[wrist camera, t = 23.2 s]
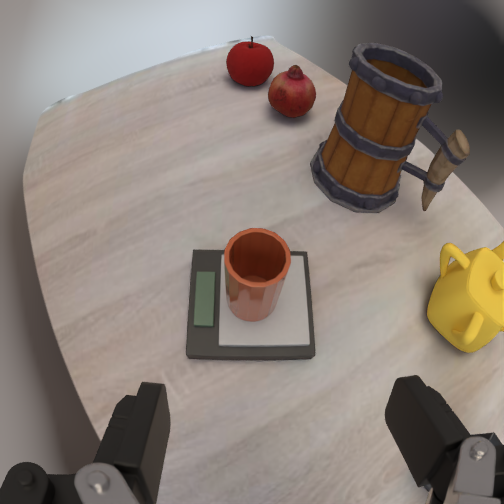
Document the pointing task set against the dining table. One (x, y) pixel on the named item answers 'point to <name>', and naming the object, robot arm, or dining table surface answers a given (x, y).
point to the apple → (250, 63)
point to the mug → (384, 132)
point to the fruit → (292, 93)
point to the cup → (255, 272)
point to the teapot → (469, 297)
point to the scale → (244, 332)
